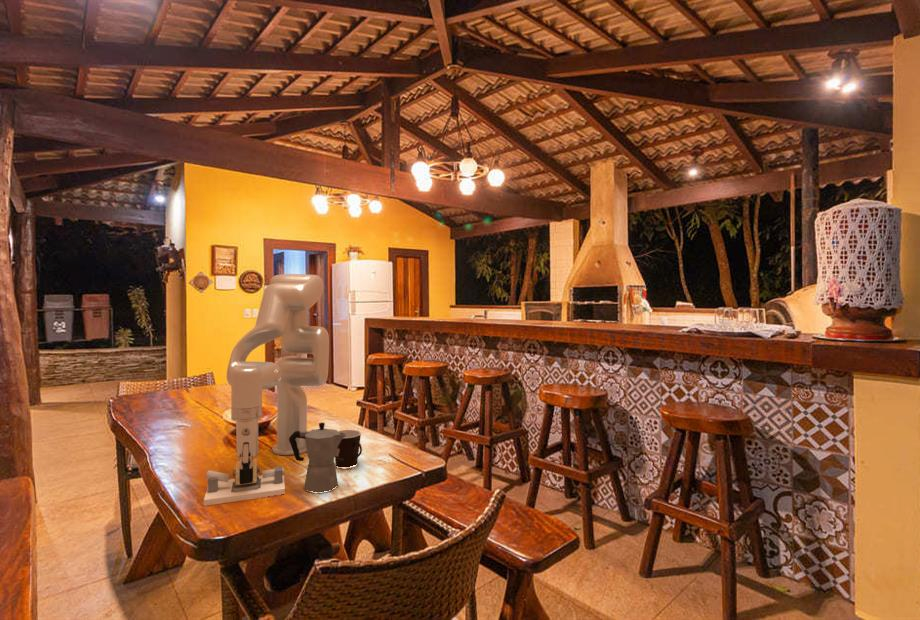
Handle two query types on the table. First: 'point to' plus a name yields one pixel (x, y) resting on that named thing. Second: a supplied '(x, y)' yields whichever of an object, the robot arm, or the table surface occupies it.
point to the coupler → (255, 471)
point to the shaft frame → (243, 487)
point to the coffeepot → (319, 457)
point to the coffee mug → (348, 449)
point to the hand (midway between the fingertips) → (246, 478)
